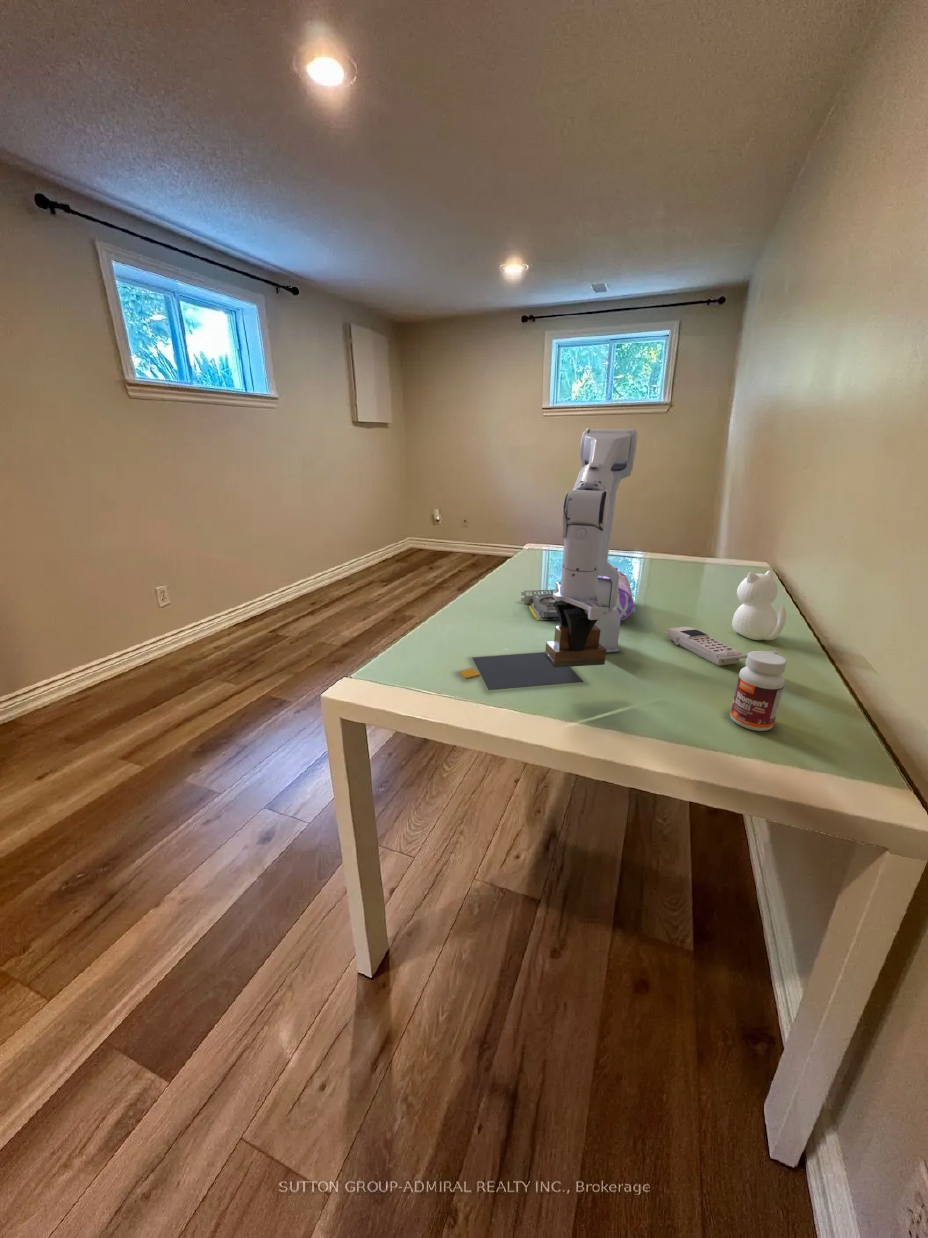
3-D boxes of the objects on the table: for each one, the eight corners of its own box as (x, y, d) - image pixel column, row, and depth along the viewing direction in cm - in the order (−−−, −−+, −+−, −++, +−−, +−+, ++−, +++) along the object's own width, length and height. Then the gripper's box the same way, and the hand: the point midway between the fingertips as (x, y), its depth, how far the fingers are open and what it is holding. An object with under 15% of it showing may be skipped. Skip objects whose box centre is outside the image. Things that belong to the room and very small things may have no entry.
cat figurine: (746, 625, 120) (759, 565, 115) (794, 644, 109) (811, 578, 104) (718, 629, 117) (730, 568, 112) (764, 649, 106) (781, 582, 101)
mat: (555, 653, 103) (555, 651, 103) (583, 683, 90) (583, 681, 90) (472, 659, 99) (472, 657, 99) (488, 691, 87) (488, 689, 86)
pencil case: (594, 596, 141) (597, 564, 137) (627, 599, 139) (632, 567, 135) (595, 622, 120) (599, 585, 117) (634, 626, 118) (640, 588, 115)
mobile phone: (756, 655, 88) (662, 611, 110) (749, 684, 90) (657, 635, 112) (781, 651, 90) (683, 609, 112) (773, 680, 92) (679, 633, 114)
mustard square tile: (472, 670, 94) (472, 668, 94) (480, 677, 92) (480, 674, 92) (458, 674, 93) (458, 671, 93) (465, 680, 91) (466, 677, 90)
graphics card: (520, 589, 135) (563, 588, 135) (520, 602, 136) (562, 600, 137) (532, 610, 119) (581, 608, 120) (532, 624, 120) (580, 622, 121)
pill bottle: (725, 722, 78) (739, 657, 74) (734, 707, 82) (748, 645, 78) (769, 737, 74) (786, 669, 70) (776, 720, 79) (793, 656, 75)
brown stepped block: (592, 654, 87) (597, 622, 85) (604, 664, 82) (609, 631, 80) (544, 656, 85) (547, 624, 83) (554, 667, 81) (557, 634, 79)
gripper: (541, 558, 84) (536, 631, 89) (575, 580, 71) (567, 665, 75) (579, 556, 85) (572, 629, 90) (620, 578, 72) (609, 662, 76)
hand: (572, 645), depth 83 cm, fingers closed on brown stepped block, 2 cm apart
